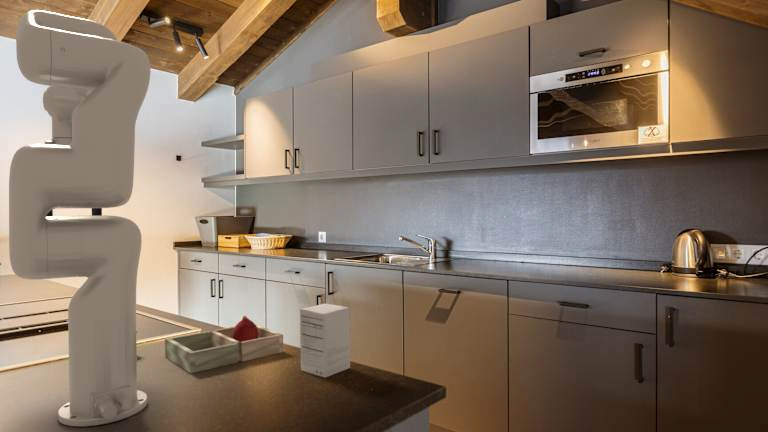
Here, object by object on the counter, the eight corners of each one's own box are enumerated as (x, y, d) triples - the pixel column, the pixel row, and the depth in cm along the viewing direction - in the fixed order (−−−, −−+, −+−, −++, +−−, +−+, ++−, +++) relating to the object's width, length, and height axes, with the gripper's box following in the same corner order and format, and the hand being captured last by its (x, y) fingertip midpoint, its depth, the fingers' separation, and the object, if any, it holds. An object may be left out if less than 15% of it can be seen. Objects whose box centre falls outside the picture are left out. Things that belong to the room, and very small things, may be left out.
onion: (262, 346, 115) (261, 313, 115) (253, 354, 109) (253, 318, 109) (238, 346, 115) (238, 312, 115) (228, 353, 110) (228, 318, 109)
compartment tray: (283, 352, 110) (283, 334, 110) (190, 373, 96) (190, 353, 96) (252, 339, 121) (252, 323, 121) (165, 356, 107) (164, 338, 107)
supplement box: (325, 361, 103) (325, 302, 103) (351, 368, 99) (350, 307, 98) (299, 370, 98) (298, 308, 97) (324, 378, 93) (324, 313, 93)
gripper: (32, 142, 102) (33, 223, 102) (118, 150, 116) (119, 221, 116) (21, 145, 107) (22, 223, 107) (105, 152, 120) (106, 221, 121)
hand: (73, 222), depth 111 cm, fingers open, 9 cm apart
